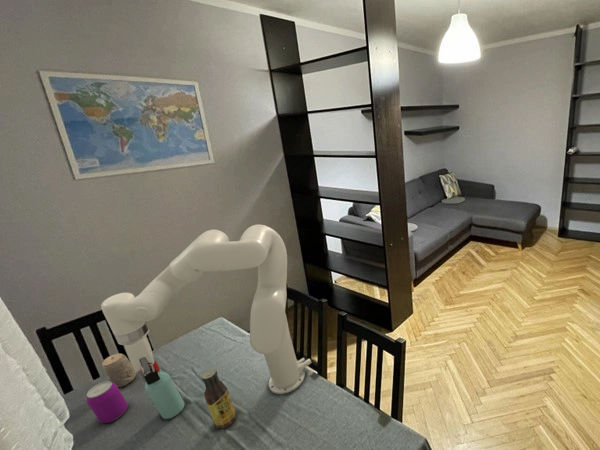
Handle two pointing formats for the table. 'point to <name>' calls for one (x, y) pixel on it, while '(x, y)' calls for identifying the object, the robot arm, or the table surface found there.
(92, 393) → the beverage can
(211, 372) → the sauce bottle
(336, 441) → the table surface
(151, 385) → the water bottle
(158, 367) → the cap
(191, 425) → the table surface
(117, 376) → the carving
